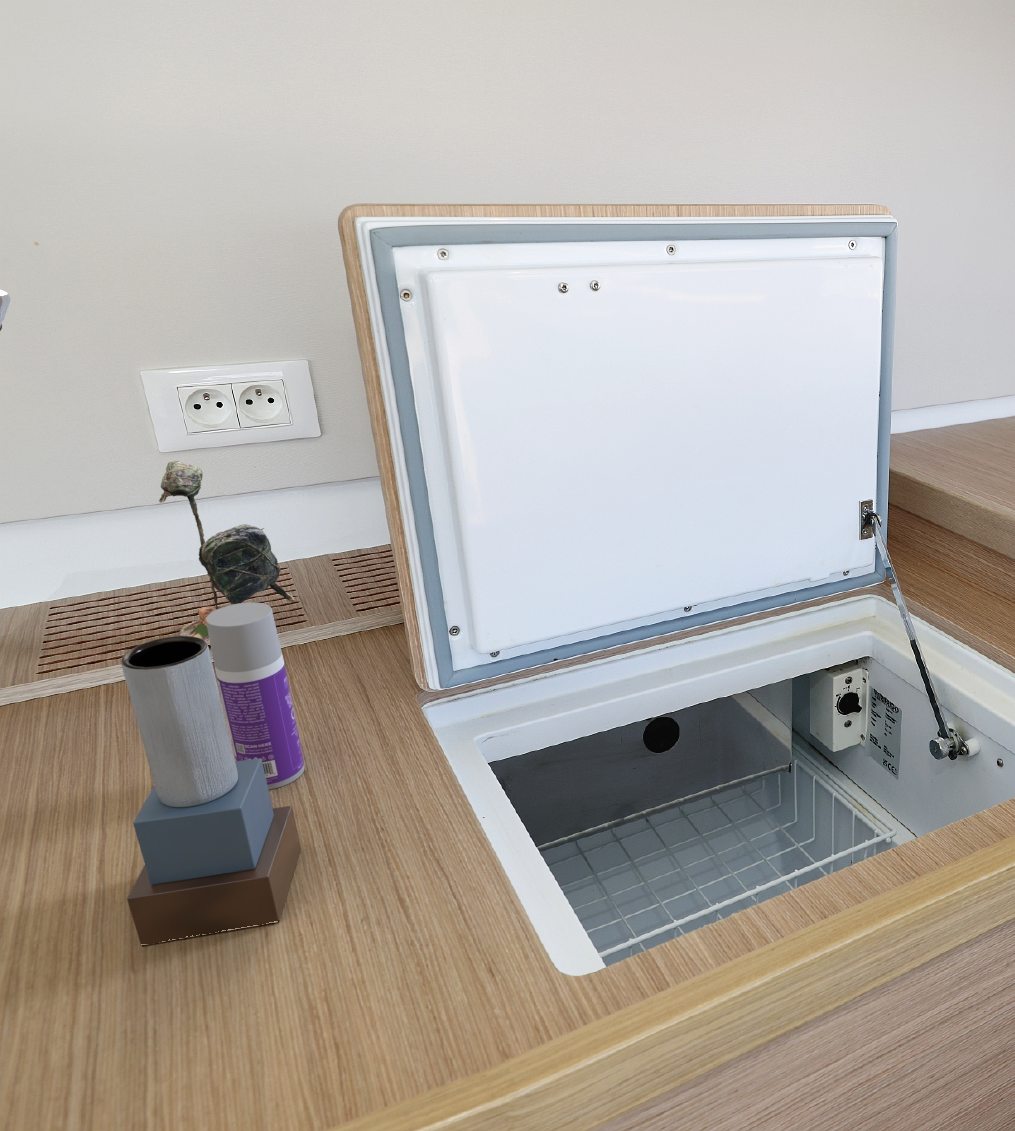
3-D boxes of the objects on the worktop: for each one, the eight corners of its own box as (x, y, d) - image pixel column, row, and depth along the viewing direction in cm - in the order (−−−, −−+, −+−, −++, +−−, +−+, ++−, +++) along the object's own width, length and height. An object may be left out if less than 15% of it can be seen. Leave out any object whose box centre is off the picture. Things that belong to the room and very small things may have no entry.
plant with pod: (297, 637, 102) (264, 459, 95) (171, 656, 97) (126, 469, 90) (297, 608, 109) (266, 439, 101) (180, 624, 104) (138, 448, 96)
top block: (178, 828, 67) (162, 769, 65) (274, 815, 69) (261, 757, 67) (150, 885, 61) (132, 822, 60) (255, 869, 63) (240, 808, 61)
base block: (140, 946, 62) (126, 898, 60) (178, 867, 69) (165, 822, 67) (279, 923, 64) (268, 876, 63) (301, 848, 71) (292, 805, 70)
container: (316, 770, 80) (286, 611, 75) (261, 797, 77) (224, 632, 71) (284, 752, 83) (252, 596, 77) (229, 778, 79) (191, 616, 73)
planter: (216, 760, 66) (184, 629, 62) (252, 782, 64) (222, 647, 60) (144, 792, 62) (105, 654, 58) (180, 817, 60) (142, 675, 56)
